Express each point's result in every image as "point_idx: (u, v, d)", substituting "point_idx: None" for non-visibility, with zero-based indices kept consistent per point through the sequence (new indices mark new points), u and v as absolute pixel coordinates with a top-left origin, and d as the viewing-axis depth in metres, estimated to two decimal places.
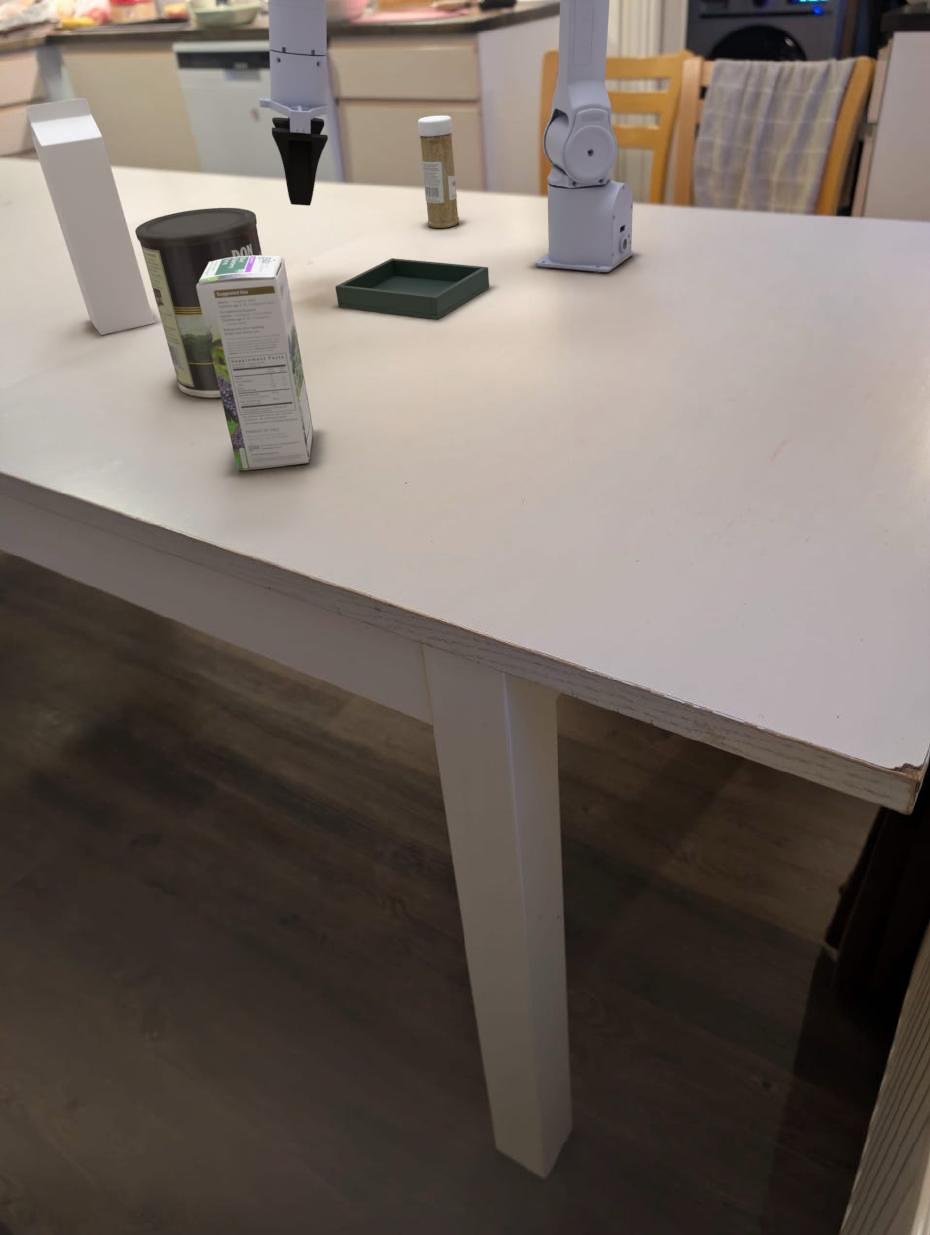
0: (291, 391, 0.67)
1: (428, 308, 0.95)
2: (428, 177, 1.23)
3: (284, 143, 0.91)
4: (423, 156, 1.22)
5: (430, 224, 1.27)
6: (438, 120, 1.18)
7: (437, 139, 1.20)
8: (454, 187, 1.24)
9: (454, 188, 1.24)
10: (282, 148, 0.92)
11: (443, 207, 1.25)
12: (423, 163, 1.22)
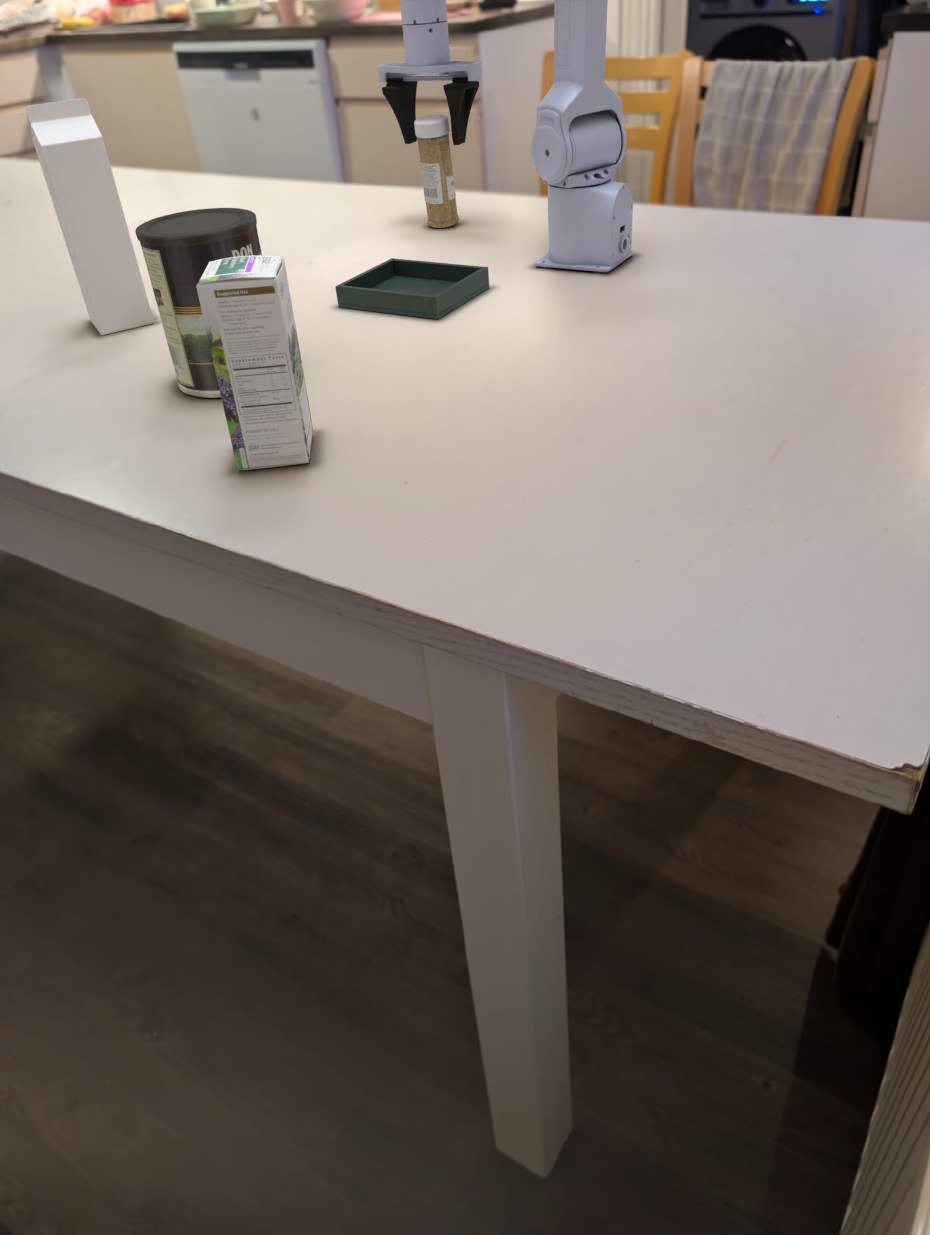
0: (291, 391, 0.67)
1: (428, 308, 0.95)
2: (426, 178, 1.22)
3: None
4: (421, 157, 1.21)
5: (430, 224, 1.27)
6: (435, 122, 1.18)
7: (434, 140, 1.19)
8: (453, 187, 1.24)
9: (453, 188, 1.24)
10: None
11: (443, 207, 1.24)
12: (421, 164, 1.22)
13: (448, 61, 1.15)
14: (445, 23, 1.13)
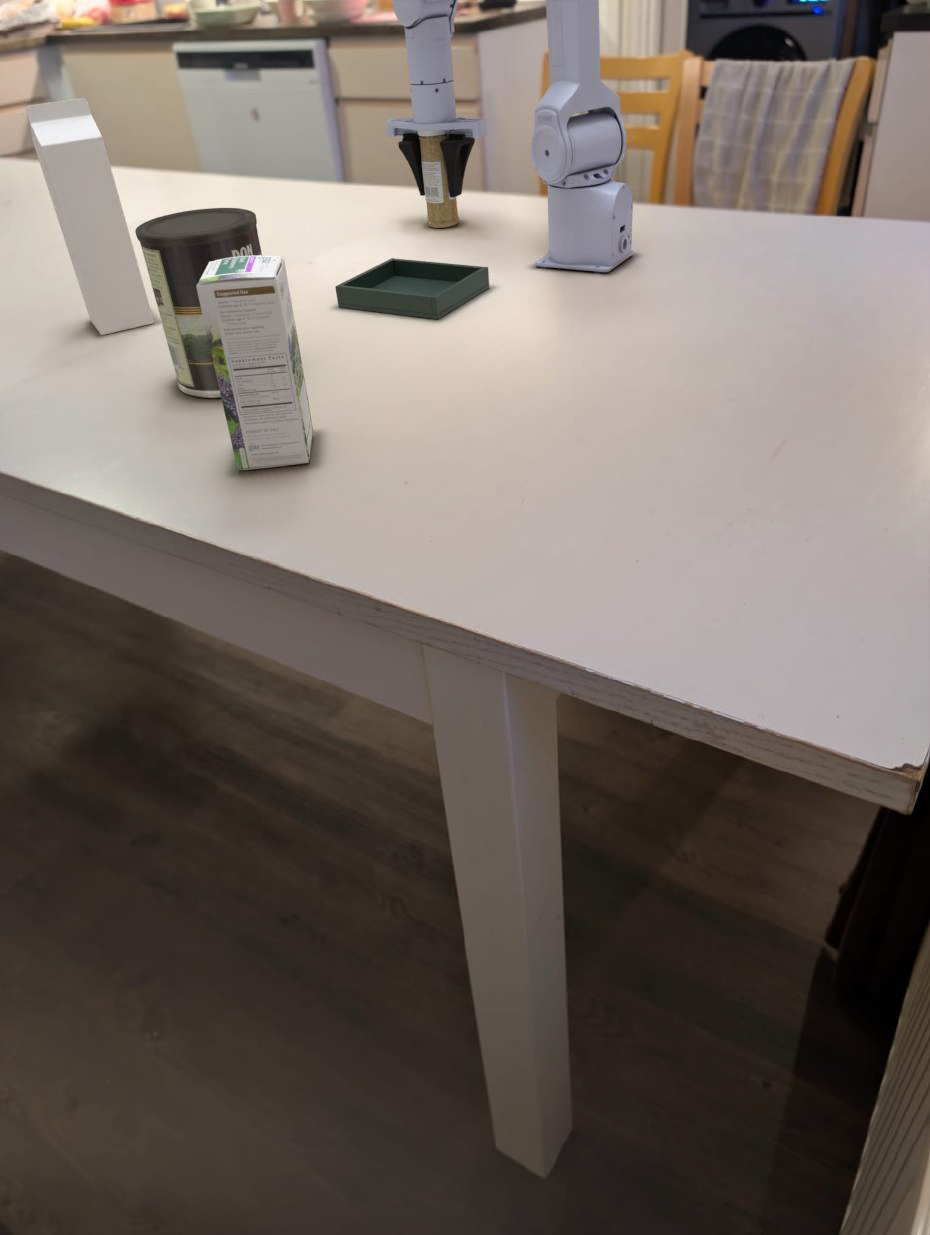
0: (291, 391, 0.67)
1: (428, 308, 0.95)
2: (428, 177, 1.23)
3: None
4: (422, 156, 1.22)
5: (430, 224, 1.27)
6: None
7: (436, 138, 1.20)
8: None
9: None
10: None
11: (443, 207, 1.25)
12: (422, 163, 1.23)
13: (454, 118, 1.19)
14: (451, 83, 1.17)
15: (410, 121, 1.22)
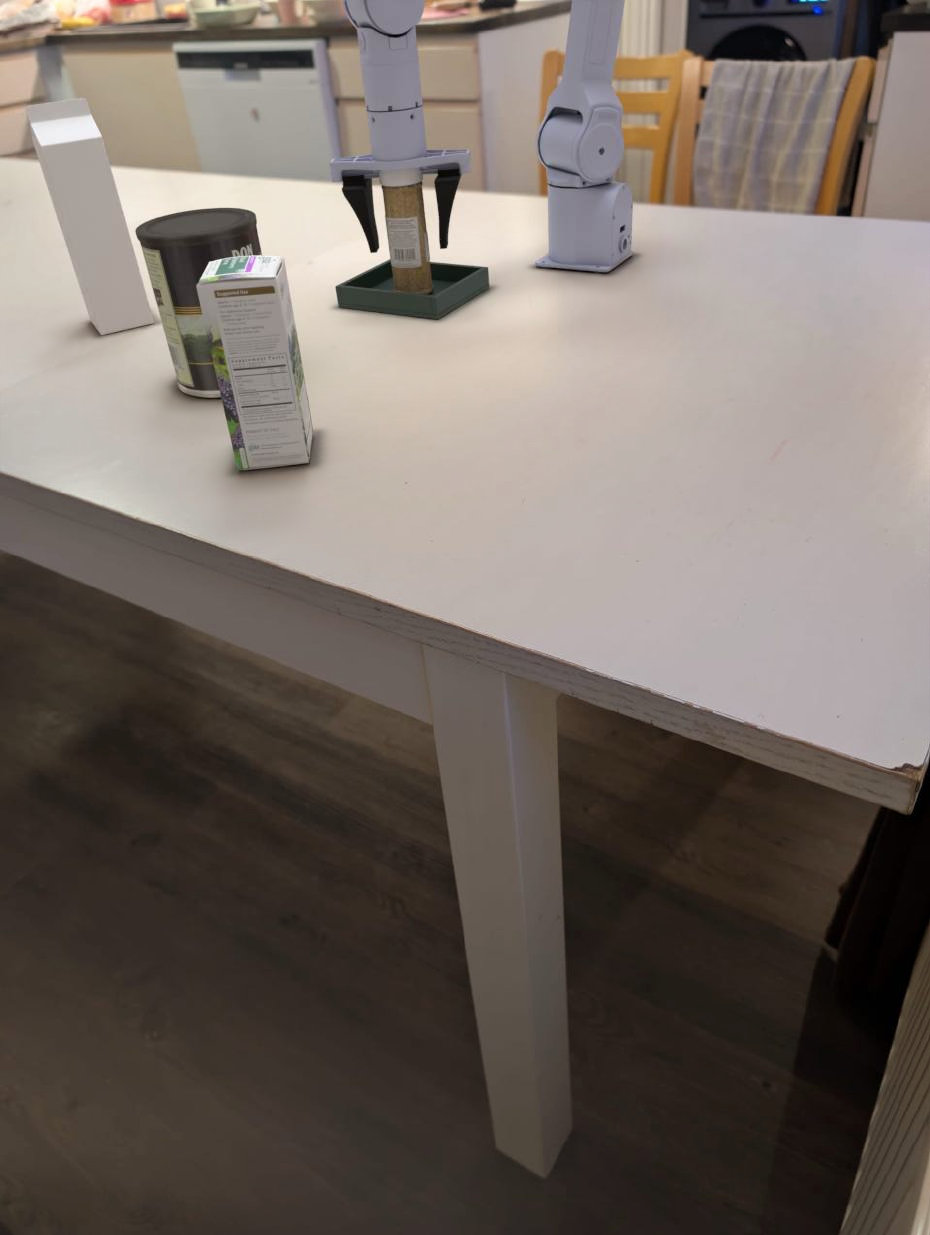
0: (291, 391, 0.67)
1: (428, 308, 0.95)
2: (401, 237, 0.96)
3: None
4: (391, 211, 0.95)
5: None
6: None
7: (412, 188, 0.94)
8: (428, 246, 0.99)
9: (428, 247, 0.99)
10: None
11: (421, 271, 0.99)
12: (391, 220, 0.96)
13: (426, 151, 0.94)
14: (422, 107, 0.91)
15: (363, 160, 0.94)
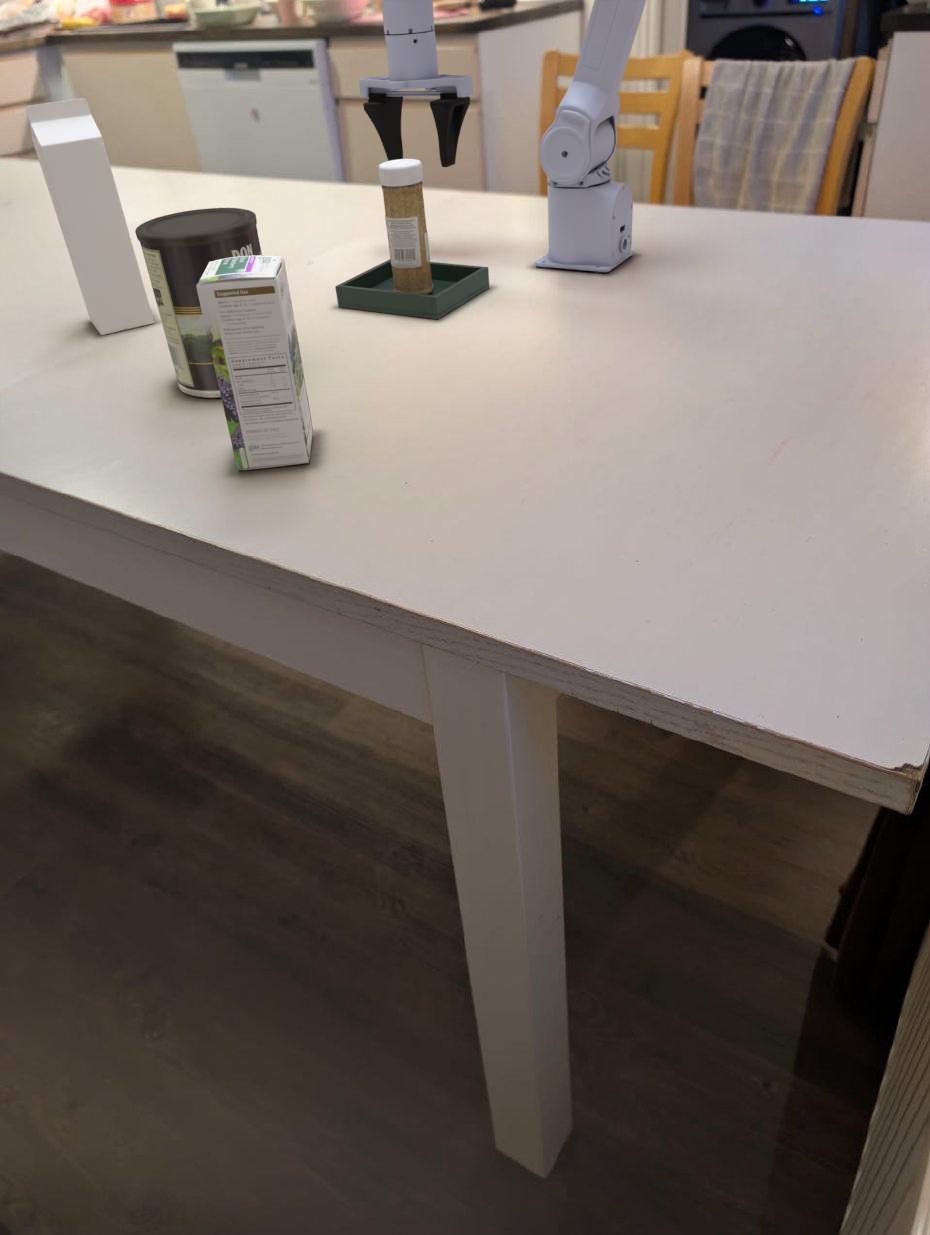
0: (291, 391, 0.67)
1: (428, 308, 0.95)
2: (401, 237, 0.96)
3: (451, 110, 1.03)
4: (391, 211, 0.95)
5: None
6: (412, 165, 0.93)
7: (412, 188, 0.94)
8: (428, 246, 0.99)
9: (428, 247, 0.99)
10: (449, 116, 1.03)
11: (421, 271, 0.99)
12: (391, 220, 0.96)
13: None
14: None
15: (442, 78, 1.03)
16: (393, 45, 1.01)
